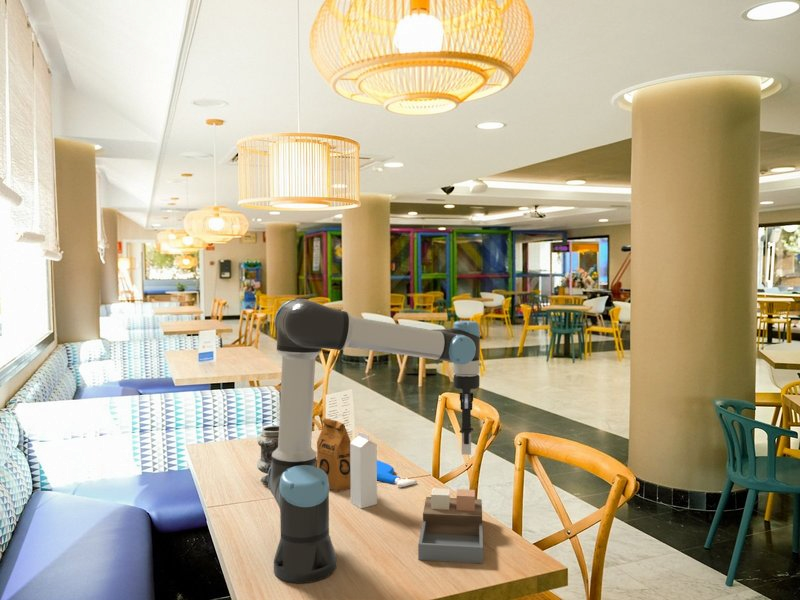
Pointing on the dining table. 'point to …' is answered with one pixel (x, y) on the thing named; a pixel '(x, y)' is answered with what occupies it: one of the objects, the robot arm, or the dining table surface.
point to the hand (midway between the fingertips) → (466, 453)
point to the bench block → (452, 519)
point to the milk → (363, 471)
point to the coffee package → (334, 454)
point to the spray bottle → (391, 475)
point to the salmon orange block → (465, 500)
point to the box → (450, 547)
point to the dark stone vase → (267, 449)
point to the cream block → (440, 498)
